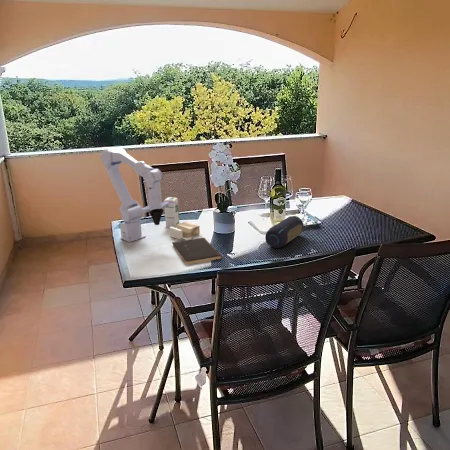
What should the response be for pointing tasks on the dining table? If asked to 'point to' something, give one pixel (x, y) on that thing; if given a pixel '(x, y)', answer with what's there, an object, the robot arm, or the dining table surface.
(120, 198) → the robot arm
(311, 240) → the dining table surface
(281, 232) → the portable speaker
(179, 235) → the cream white block
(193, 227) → the tan cardboard box
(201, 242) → the hardcover book
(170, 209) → the syrup box
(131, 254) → the dining table surface
